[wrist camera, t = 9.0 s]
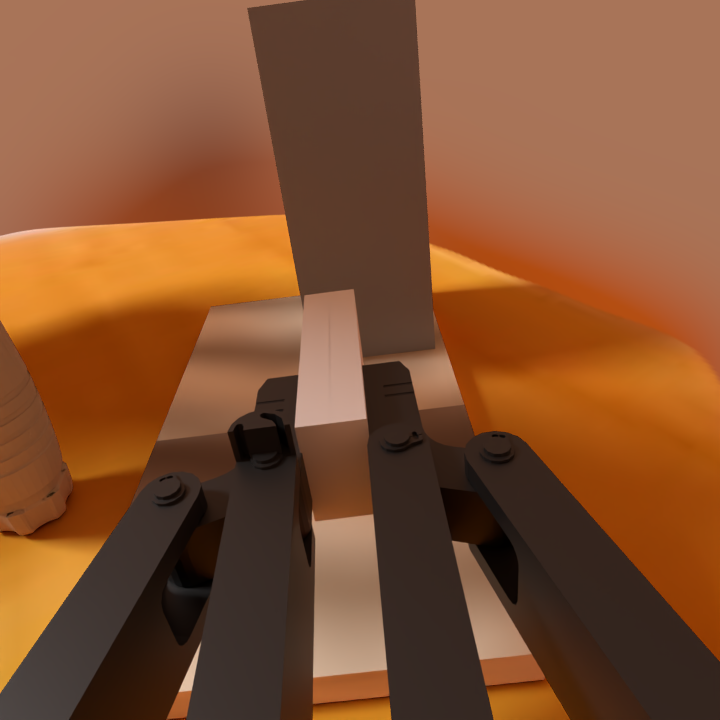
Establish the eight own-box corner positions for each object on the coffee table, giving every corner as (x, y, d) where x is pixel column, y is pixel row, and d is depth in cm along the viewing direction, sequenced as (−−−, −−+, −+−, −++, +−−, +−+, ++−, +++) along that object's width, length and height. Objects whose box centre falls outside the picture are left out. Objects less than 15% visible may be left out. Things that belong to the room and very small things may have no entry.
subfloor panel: (215, 324, 37) (210, 306, 36) (424, 298, 36) (423, 280, 36) (66, 730, 16) (49, 706, 15) (544, 679, 16) (546, 652, 15)
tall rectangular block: (317, 288, 37) (270, 7, 29) (418, 275, 36) (398, -10, 29) (312, 363, 29) (247, 8, 21) (441, 348, 29) (422, -16, 21)
